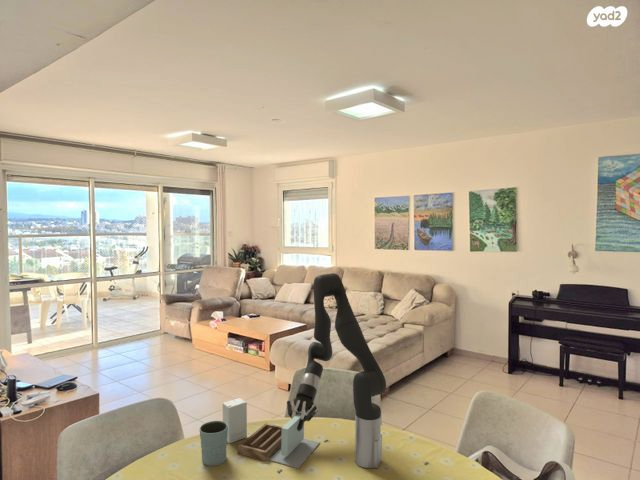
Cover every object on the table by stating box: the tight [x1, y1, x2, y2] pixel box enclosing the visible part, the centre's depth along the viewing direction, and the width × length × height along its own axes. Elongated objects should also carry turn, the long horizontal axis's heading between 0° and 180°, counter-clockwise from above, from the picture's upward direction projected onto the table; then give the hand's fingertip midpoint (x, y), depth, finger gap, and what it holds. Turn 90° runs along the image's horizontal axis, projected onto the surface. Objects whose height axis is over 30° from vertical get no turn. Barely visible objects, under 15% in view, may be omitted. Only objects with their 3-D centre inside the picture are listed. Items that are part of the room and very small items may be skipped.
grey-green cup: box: [199, 420, 228, 466], centre depth 151 cm, size 10×10×12 cm
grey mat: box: [268, 438, 321, 469], centre depth 156 cm, size 12×19×1 cm, turn 156°
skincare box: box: [222, 397, 248, 444], centre depth 166 cm, size 8×6×15 cm
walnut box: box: [237, 422, 283, 462], centre depth 161 cm, size 12×20×3 cm, turn 157°
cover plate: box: [280, 412, 305, 456], centre depth 157 cm, size 2×14×10 cm, turn 156°
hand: (294, 429), depth 158 cm, fingers closed on cover plate, 2 cm apart
